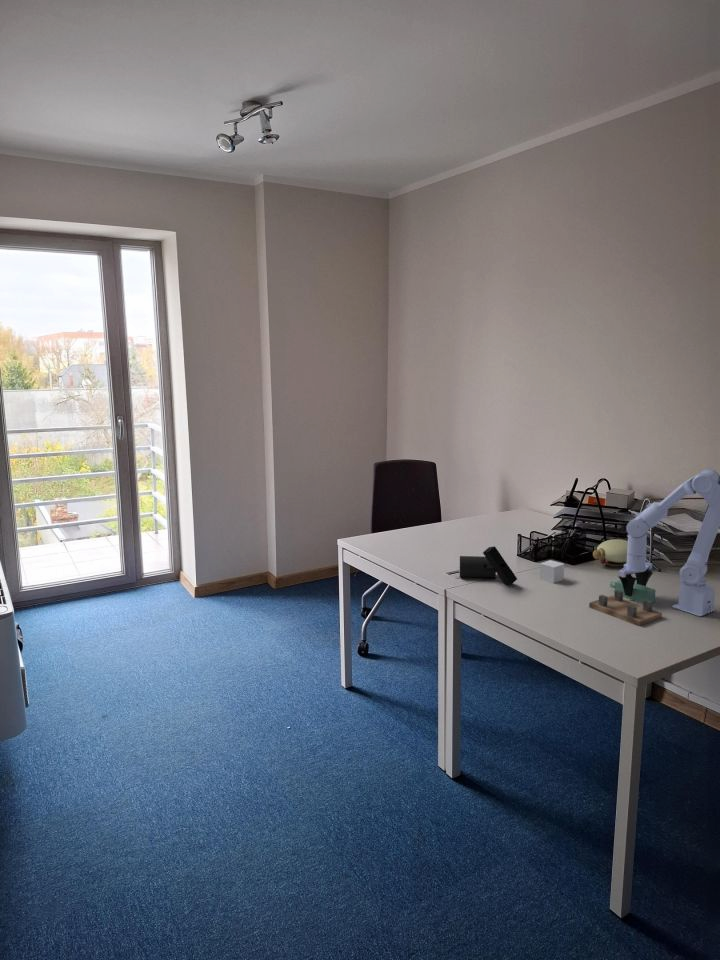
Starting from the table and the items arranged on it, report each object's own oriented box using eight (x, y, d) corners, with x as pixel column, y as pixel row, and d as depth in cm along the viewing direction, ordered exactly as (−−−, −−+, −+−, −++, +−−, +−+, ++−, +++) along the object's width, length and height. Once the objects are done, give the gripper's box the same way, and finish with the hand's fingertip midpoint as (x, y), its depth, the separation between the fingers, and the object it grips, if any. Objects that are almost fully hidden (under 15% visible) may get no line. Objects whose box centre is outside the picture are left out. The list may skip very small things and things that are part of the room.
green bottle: (654, 602, 211) (655, 589, 210) (646, 605, 209) (647, 592, 208) (615, 589, 224) (616, 577, 223) (607, 591, 221) (607, 579, 221)
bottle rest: (661, 617, 199) (662, 603, 198) (639, 626, 193) (639, 611, 192) (611, 599, 214) (612, 586, 213) (589, 607, 208) (589, 593, 207)
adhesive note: (563, 579, 234) (564, 563, 233) (553, 583, 230) (554, 567, 229) (549, 575, 238) (550, 559, 237) (539, 579, 235) (539, 563, 234)
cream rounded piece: (648, 567, 244) (607, 574, 239) (621, 555, 259) (581, 562, 254) (649, 543, 242) (607, 550, 238) (621, 532, 257) (581, 539, 253)
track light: (445, 564, 242) (471, 561, 223) (472, 541, 247) (499, 537, 228) (469, 598, 242) (496, 597, 224) (495, 574, 248) (524, 572, 229)
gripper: (639, 547, 219) (637, 585, 222) (611, 555, 212) (609, 594, 214) (658, 552, 213) (656, 591, 216) (630, 560, 206) (628, 601, 208)
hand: (634, 593), depth 215 cm, fingers open, 6 cm apart
